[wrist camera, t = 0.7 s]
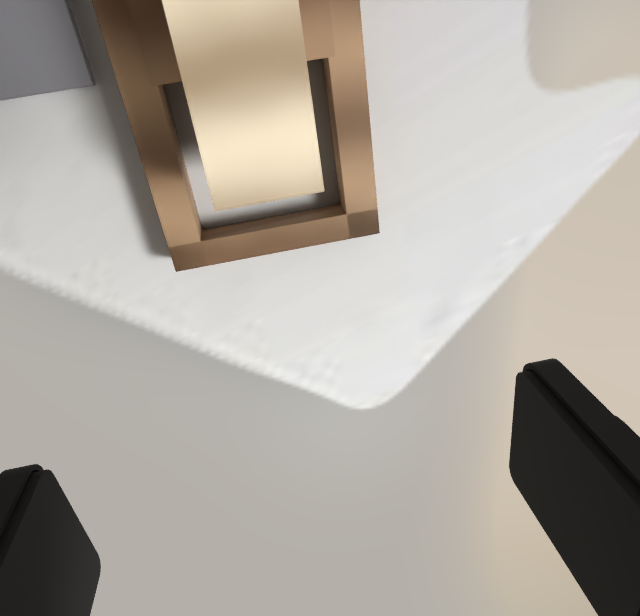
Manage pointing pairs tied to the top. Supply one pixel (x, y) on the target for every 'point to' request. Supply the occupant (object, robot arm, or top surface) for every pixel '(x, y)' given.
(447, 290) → the top surface
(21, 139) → the top surface
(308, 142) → the slab
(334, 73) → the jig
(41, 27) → the mat
